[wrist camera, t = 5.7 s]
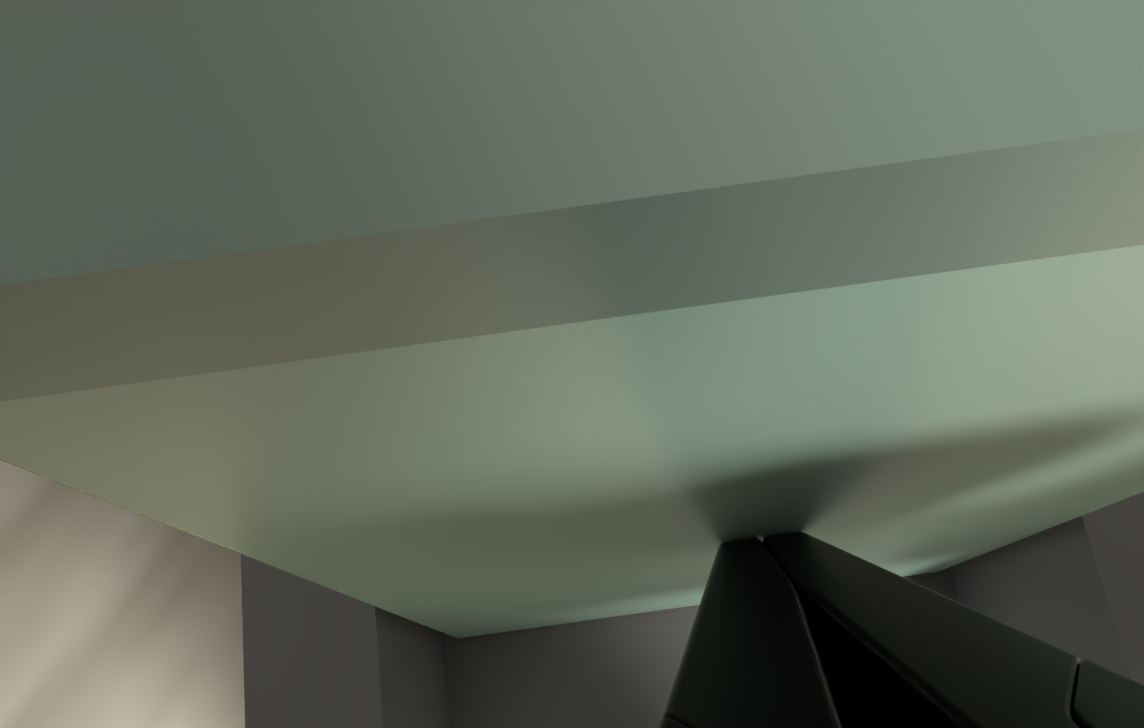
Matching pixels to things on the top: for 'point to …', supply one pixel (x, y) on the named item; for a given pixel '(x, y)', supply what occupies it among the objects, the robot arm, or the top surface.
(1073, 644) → the switch housing
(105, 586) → the top surface
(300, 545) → the pale green tall block
